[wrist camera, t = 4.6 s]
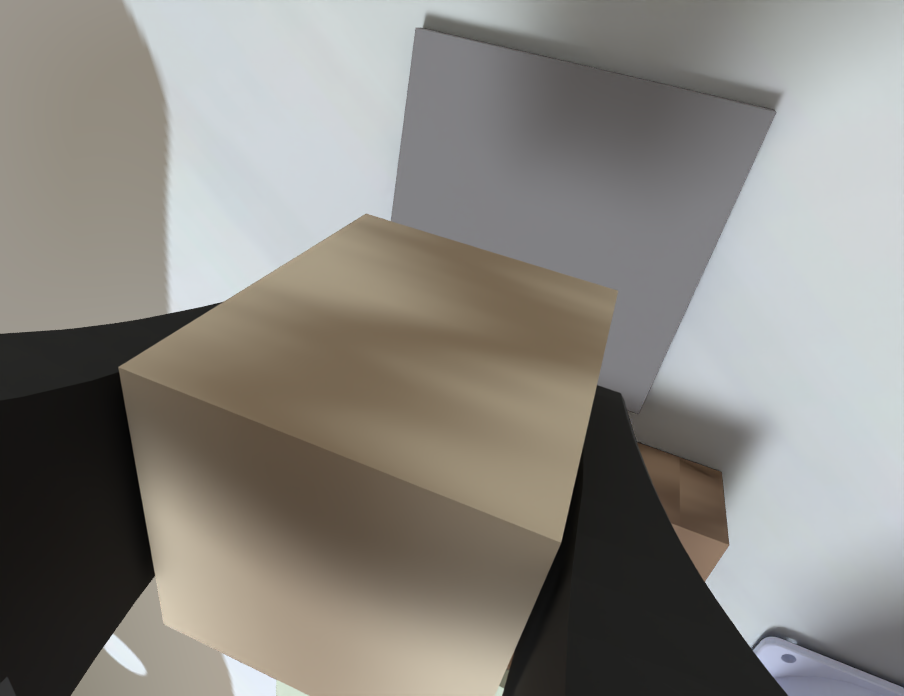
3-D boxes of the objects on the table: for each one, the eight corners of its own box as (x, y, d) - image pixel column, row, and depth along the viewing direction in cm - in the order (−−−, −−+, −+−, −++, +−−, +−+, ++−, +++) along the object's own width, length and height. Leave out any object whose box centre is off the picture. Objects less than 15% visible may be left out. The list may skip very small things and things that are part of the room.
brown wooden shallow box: (721, 472, 20) (729, 545, 18) (556, 748, 32) (544, 820, 29) (345, 339, 23) (298, 383, 20) (317, 637, 35) (284, 692, 32)
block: (618, 290, 10) (561, 542, 5) (544, 484, 13) (461, 770, 8) (365, 213, 11) (119, 367, 6) (347, 409, 14) (164, 624, 9)
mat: (773, 109, 15) (776, 112, 15) (639, 406, 20) (638, 414, 20) (422, 27, 17) (415, 27, 16) (383, 318, 22) (377, 324, 22)
